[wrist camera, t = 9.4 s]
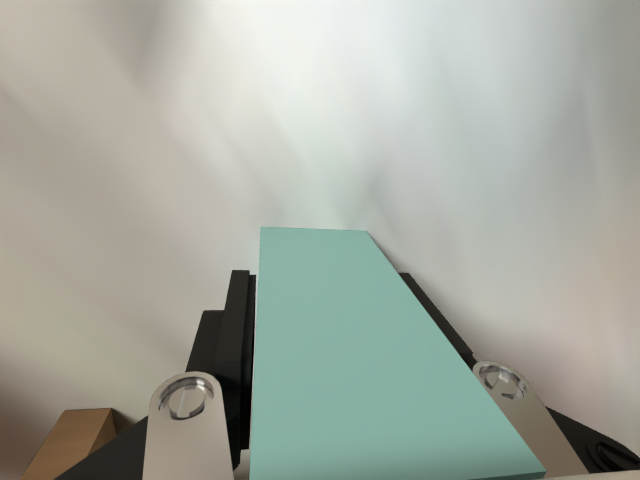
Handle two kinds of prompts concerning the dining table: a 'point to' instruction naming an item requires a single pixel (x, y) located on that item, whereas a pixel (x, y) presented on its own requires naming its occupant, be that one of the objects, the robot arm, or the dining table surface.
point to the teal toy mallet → (364, 374)
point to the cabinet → (71, 442)
